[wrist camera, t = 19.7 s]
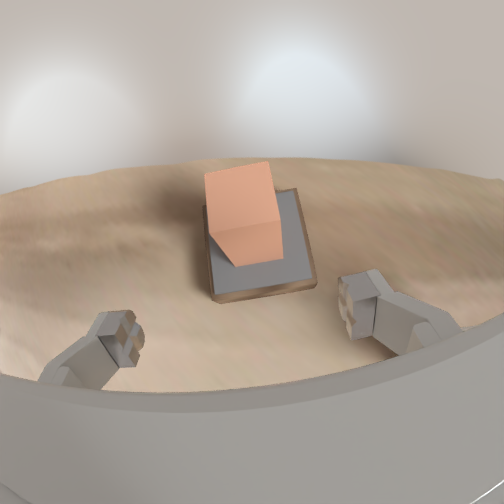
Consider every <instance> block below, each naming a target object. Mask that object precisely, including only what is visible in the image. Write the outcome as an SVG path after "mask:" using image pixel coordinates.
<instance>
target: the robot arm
mask: <svg viewBox="0 0 504 504" xmlns="http://www.w3.org/2000/svg"><path fill="white" fill-rule="evenodd" d="M338 288H339V290H340V292H341V293H340V295H339V296H338V304H339V311H340V314H341V317H342V320H343V321H345V322H346V329H347V332H348V334H349V337H350V339H351V340H355V339H360V338H364V337H369V336H373V337H374V338H375V339H377V340H378V341H379V342H381V343H382V344H384V345H385V346H387V347H388V348H389V349H391V350H392V351H394V352H395V353H396V354H398V355H399V356H397V357H393V358H390V359H387V360H384V361H380V362H377V363H373V364H369V365H366V366H362V367H358V368H354V369H350V370H346V371H342V372H338V373H333V374H329V375H324V376H319V377H314V378H309V379H304V380H298V381H292V382H286V383H280V384H273V385H265V386H257V387H249V388H239V389H229V390H216V391H200V392H165V393H156V392H122V391H107V390H101V388H102V387H103V386H104V385H105V384H106V383H107V382H108V381H109V379H110V378H111V377H112V376H113V375H114V374H115V373H116V372H117V371H118V369H119V368H126V367H136V365H137V362H138V360H139V357H140V354H139V352H138V351H139V350H141V349H142V348H143V345H144V342H145V335H144V332H143V329H142V327H141V326H140V325H139V324H138V323H136V322H135V321H136V316H135V314H134V313H133V311H131V310H121V311H111V312H110V311H108V312H101V313H99V315H98V316H97V318H96V320H95V321H94V323H93V325H92V326H91V328H90V330H89V331H88V333H87V335H86V337H82V338H80V339H79V340H78V341H76V342H75V343H74V344H73V345H71V346H70V347H69V348H67V349H66V350H65V351H63V352H62V353H61V354H59V355H58V356H57V357H55V358H54V359H53V360H52V361H50V362H49V363H48V364H47V365H46V367H45V368H44V370H43V372H42V374H41V376H40V377H39V379H38V381H32V380H28V379H23V378H18V377H14V376H10V375H6V374H2V373H0V504H504V313H502V314H500V315H498V316H496V317H494V318H492V319H490V320H488V321H486V322H484V323H482V324H479V325H477V326H475V327H473V328H471V329H468V330H466V331H464V332H463V331H462V329H461V328H460V327H459V325H458V324H457V323H456V322H455V320H454V319H453V318H452V316H451V315H450V314H449V313H448V312H446V311H444V310H441V309H439V308H437V307H434V306H432V305H429V304H427V303H425V302H422V301H420V300H417V299H415V298H413V297H410V296H408V295H405V294H403V293H401V292H398V291H397V292H394V291H393V290H392V288H391V287H390V285H389V284H388V283H387V281H386V280H385V279H384V277H383V276H382V275H381V273H380V272H379V271H378V270H377V269H372V270H368V271H364V272H361V273H357V274H352V275H348V276H343V277H339V278H338Z"/></svg>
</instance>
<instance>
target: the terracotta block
mask: <svg viewBox="0 0 504 504" xmlns="http://www.w3.org/2000/svg"><path fill="white" fill-rule="evenodd" d="M204 177H205V190H206V202H207V214H208V225H209V234H210V235H211V236H212V237H213V239H214V240H215V241H216V243H217V244H218V245H219V247H220V248H221V249H222V250H223V252H224V253H225V254H226V256H227V257H228V258H229V259H230V261H231V262H232V263H233V265H234V266H235V267H238V266H244V265H250V264H256V263H261V262H267V261H273V260H278V259H283V245H282V231H281V219H280V214H279V209H278V205H277V200H276V195H275V190H274V186H273V181H272V176H271V172H270V167H269V163H268V161H266V162H260V163H255V164H250V165H244V166H239V167H234V168H229V169H225V170H220V171H215V172H211V173H207V174H204Z"/></svg>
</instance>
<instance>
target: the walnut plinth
mask: <svg viewBox="0 0 504 504" xmlns="http://www.w3.org/2000/svg"><path fill="white" fill-rule="evenodd" d="M275 195H276V200H277V205H278V209H279V214H280V219H281V231H282V245H283V259H278V260H273V261H267V262H261V263H256V264H250V265H244V266H238V267H235V266H234V265H233V263H232V262H231V261H230V259H229V258H228V257H227V256H226V254H225V253H224V252H223V250H222V249H221V248H220V247H219V245H218V244H217V243H216V241H215V240H214V239H213V237H212V236H211V235H210V234H209V225H208V214H207V205H203V218H204V230H205V241H206V251H207V261H208V271H209V280H210V289H211V298H212V301H215V302H217V303H219V304H223V303H230V302H236V301H243V300H249V299H255V298H261V297H267V296H273V295H279V294H285V293H290V292H296V291H301V290H307V289H312V288H315V286H316V284H317V283H318V282H317V277H316V272H315V267H314V262H313V257H312V253H311V248H310V243H309V239H308V234H307V230H306V225H305V221H304V217H303V213H302V208H301V204H300V200H299V196H298V192H297V188H293V189H287V190H281V191H275Z"/></svg>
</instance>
